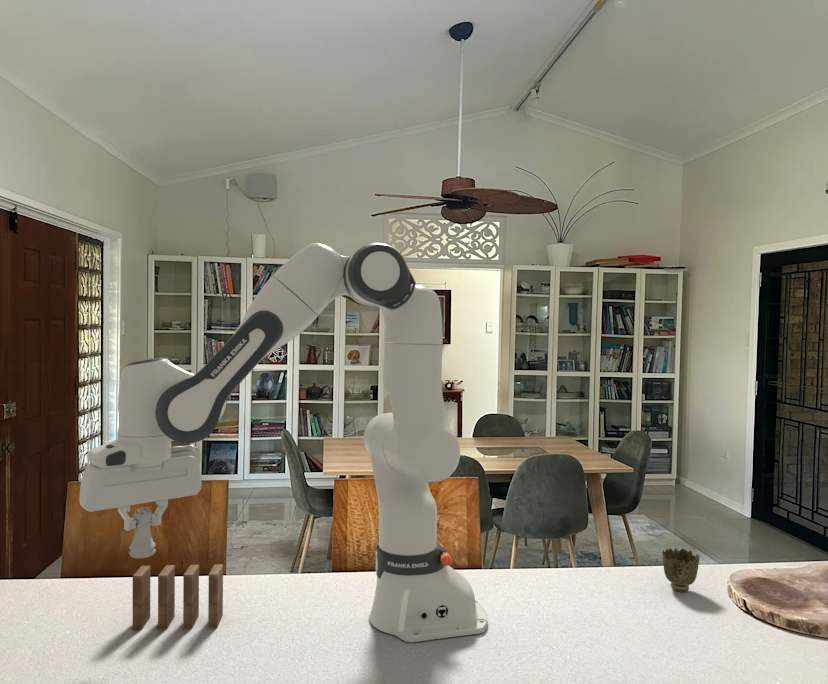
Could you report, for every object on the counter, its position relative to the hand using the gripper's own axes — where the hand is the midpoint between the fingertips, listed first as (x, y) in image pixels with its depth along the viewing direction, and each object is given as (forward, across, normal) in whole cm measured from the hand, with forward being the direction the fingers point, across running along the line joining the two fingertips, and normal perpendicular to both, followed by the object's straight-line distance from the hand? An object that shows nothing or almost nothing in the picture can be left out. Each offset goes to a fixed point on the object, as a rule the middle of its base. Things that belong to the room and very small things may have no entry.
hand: (142, 527), depth 114 cm
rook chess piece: (+5, 0, 0) cm, 5 cm away
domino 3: (+20, -9, 0) cm, 22 cm away
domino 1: (+20, -2, -6) cm, 21 cm away
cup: (+18, -94, +55) cm, 110 cm away
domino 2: (+20, -6, -3) cm, 21 cm away
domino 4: (+20, -13, +3) cm, 24 cm away
